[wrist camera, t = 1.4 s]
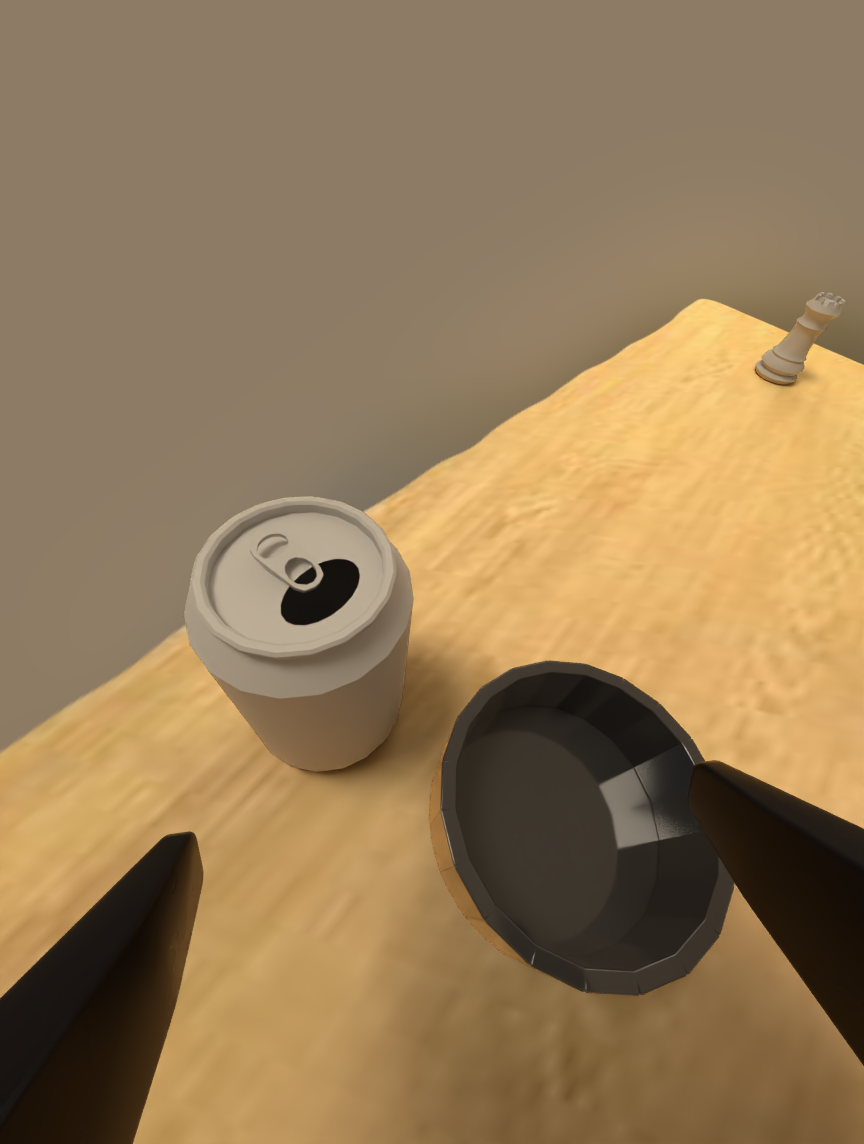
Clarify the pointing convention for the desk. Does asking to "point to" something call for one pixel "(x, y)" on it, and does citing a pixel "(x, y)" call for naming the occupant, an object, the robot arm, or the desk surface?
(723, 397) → the desk surface
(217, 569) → the can
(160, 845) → the robot arm
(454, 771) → the bowl
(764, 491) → the desk surface
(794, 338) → the rook chess piece
